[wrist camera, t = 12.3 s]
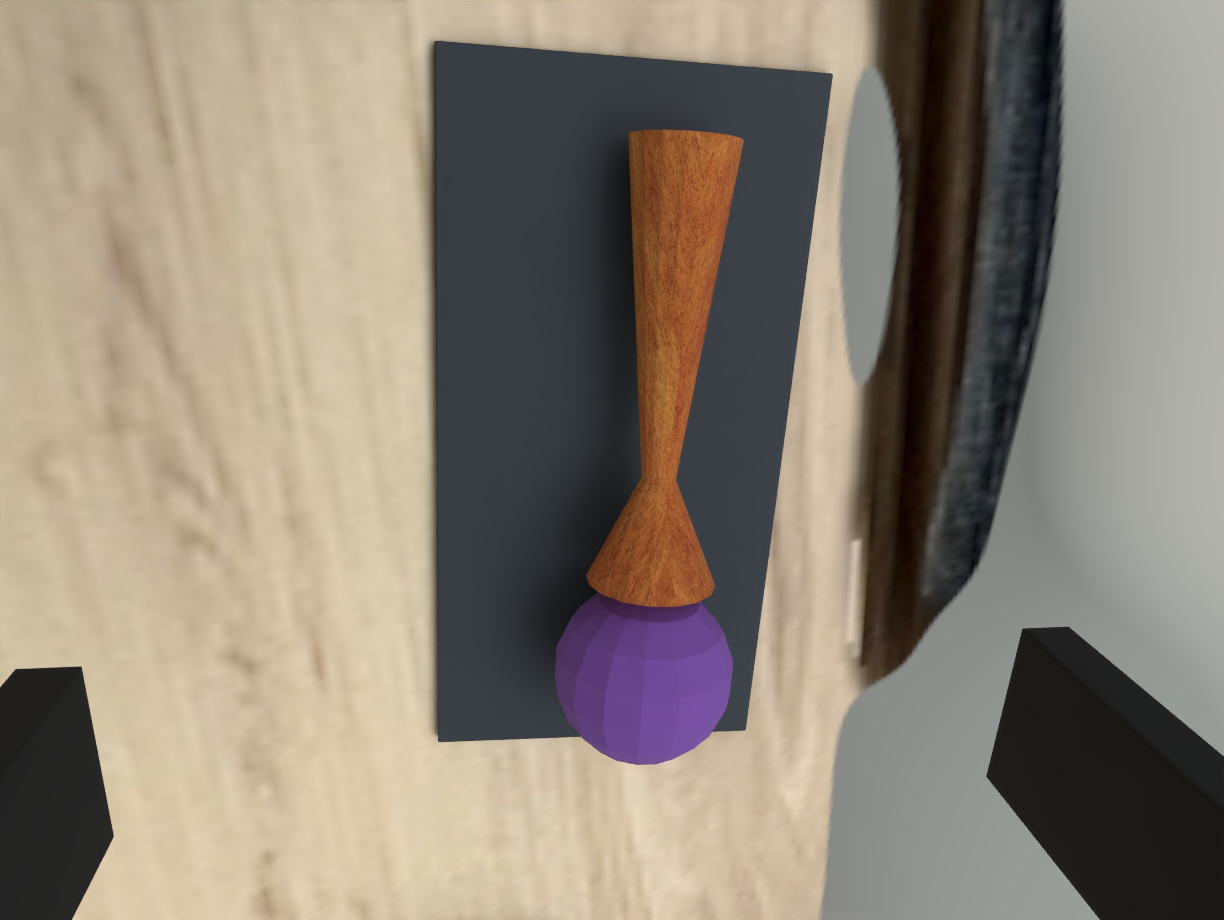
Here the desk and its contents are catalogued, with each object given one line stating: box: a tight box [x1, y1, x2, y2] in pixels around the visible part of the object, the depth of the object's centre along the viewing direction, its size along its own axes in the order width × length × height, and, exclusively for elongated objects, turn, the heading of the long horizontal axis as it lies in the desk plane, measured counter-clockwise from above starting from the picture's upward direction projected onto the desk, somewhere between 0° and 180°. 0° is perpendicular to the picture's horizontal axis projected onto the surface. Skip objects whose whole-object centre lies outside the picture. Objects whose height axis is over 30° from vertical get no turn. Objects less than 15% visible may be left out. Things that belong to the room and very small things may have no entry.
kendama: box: [555, 130, 744, 765], centre depth 28 cm, size 6×6×20 cm
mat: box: [435, 41, 833, 742], centre depth 30 cm, size 24×12×1 cm, turn 177°
